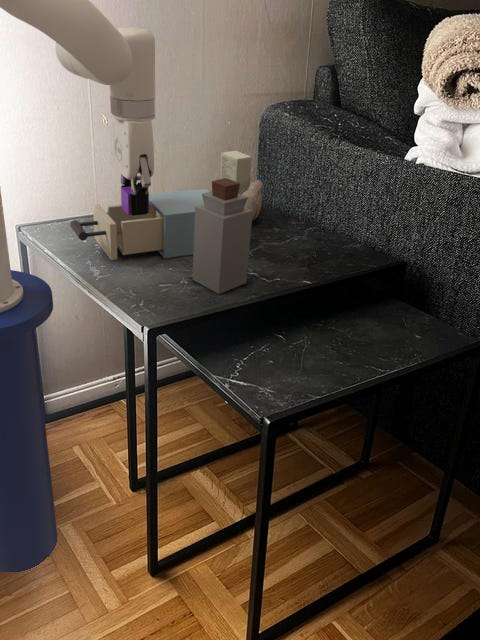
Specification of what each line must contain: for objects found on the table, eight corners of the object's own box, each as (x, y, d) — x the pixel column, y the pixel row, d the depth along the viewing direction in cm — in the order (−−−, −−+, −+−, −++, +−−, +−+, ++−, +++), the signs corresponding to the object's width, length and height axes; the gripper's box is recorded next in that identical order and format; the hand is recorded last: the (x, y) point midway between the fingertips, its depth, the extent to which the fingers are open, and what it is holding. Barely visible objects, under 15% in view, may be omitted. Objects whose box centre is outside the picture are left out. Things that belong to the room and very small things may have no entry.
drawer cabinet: (164, 258, 115) (165, 215, 110) (143, 235, 123) (142, 194, 119) (228, 249, 121) (231, 207, 116) (204, 228, 129) (206, 188, 125)
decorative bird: (222, 232, 128) (224, 198, 124) (244, 209, 141) (247, 177, 137) (247, 237, 127) (250, 202, 123) (266, 213, 140) (270, 181, 136)
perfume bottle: (246, 283, 108) (255, 184, 99) (218, 293, 104) (225, 191, 95) (220, 269, 112) (226, 173, 103) (192, 279, 108) (196, 179, 99)
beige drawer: (83, 263, 108) (81, 227, 105) (68, 241, 116) (66, 207, 112) (175, 251, 116) (176, 217, 112) (155, 231, 123) (155, 198, 120)
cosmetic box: (249, 209, 141) (253, 156, 135) (233, 212, 139) (237, 159, 133) (232, 200, 146) (235, 149, 139) (217, 203, 143) (220, 151, 137)
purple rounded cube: (128, 215, 111) (127, 194, 109) (121, 208, 114) (120, 187, 112) (149, 213, 113) (149, 192, 111) (141, 205, 116) (141, 185, 114)
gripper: (97, 98, 109) (101, 197, 118) (127, 120, 96) (130, 228, 106) (137, 97, 112) (138, 193, 121) (172, 118, 100) (170, 223, 109)
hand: (134, 209), depth 113 cm, fingers closed on purple rounded cube, 4 cm apart
